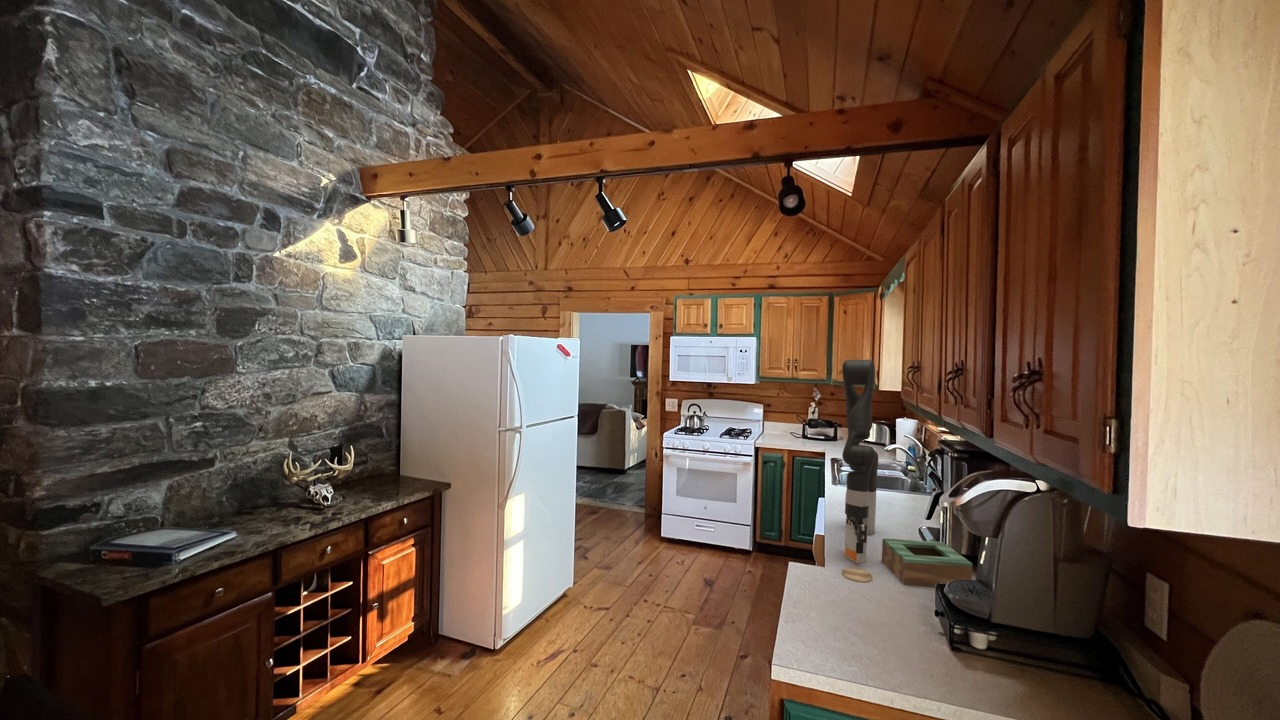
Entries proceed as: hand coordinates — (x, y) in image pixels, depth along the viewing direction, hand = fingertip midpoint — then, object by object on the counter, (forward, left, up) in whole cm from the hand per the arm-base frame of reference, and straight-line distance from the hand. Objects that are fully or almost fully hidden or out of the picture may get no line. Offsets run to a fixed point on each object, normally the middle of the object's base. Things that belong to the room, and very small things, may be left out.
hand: (855, 548), depth 177 cm
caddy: (+9, +19, -4) cm, 21 cm away
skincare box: (0, 0, -4) cm, 4 cm away
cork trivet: (+14, -4, -4) cm, 15 cm away
